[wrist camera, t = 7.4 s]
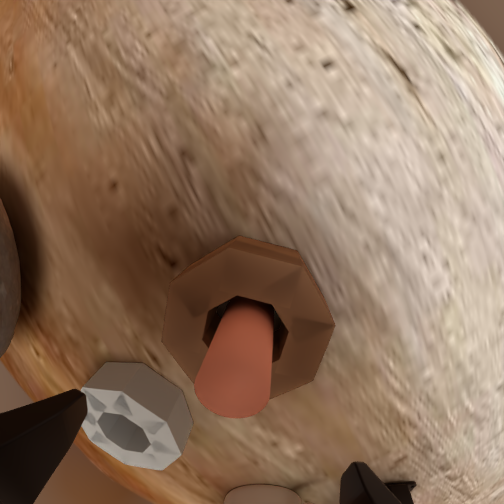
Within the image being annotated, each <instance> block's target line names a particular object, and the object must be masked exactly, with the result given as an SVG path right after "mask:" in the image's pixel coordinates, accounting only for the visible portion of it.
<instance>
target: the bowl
mask: <svg viewBox="0 0 504 504" xmlns="http://www.w3.org/2000/svg"><path fill="white" fill-rule="evenodd" d="M20 305H21V275H20V261H19V257H18V252H17V247H16V243H15V239H14V234H13V230H12V228H11V225H10V222H9V219H8V216H7V213H6V211H5V208H4V206H3V203H2V200H1V199H0V358H1V356H2V355H3V354H4V353H5V352H6V350H7V349H8V347H9V344H10V342H11V340H12V337H13V335H14V329H15V326H16V323H17V320H18V317H19V312H20Z"/></svg>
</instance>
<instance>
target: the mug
mask: <svg viewBox="0 0 504 504" xmlns="http://www.w3.org/2000/svg"><path fill="white" fill-rule="evenodd" d="M224 504H314V503H310V502H306V503H301V499H300V497H299V496H298V494H296V493H295V492H294V491H292V490H290V489H287V488H284V487H280V486H275V485H264V484H257V485H246V486H241V487H238V488H235V489H233V490H231V491H230V492H229V493H228V494H227V495H226V497H225V500H224Z"/></svg>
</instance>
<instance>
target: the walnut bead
mask: <svg viewBox="0 0 504 504" xmlns="http://www.w3.org/2000/svg"><path fill="white" fill-rule="evenodd" d="M237 295H238V296H242V297H246V298H249V299H253V300H257V301H261V302H265V303H269V304H272V305H273V307H274V309H275V310H276V312H277V313H278V315H279V317H280V318H281V320H282V322H281V326H280V329H278V330H276V331H274V332H273V350H272V369H271V387H270V398H269V399H272V398H274V397H277V396H279V395H281V394H284V393H286V392H289V391H291V390H293V389H295V388H298V387H300V386H302V385H304V384H307V383H309V382H311V381H313V379H314V377H315V375H316V372H317V370H318V368H319V365H320V363H321V360H322V358H323V356H324V353H325V351H326V348H327V346H328V343H329V341H330V338H331V335H332V333H333V330H334V328H335V323H334V321H333V318H332V316H331V313H330V311H329V308H328V306H327V303H326V301H325V299H324V297H323V295H322V293H321V291H320V290H319V288H318V286H317V284H316V282H315V281H314V279H313V277H312V275H311V274H310V272H309V270H308V268H307V267H306V265H305V263H304V261H303V260H302V258H301V256H300V254H299V253H298V251H297V250H293V249H289V248H285V247H282V246H278V245H274V244H270V243H266V242H262V241H258V240H254V239H251V238H247V237H243V236H238V237H236V238H234V239H233V240H231V241H229V242H227V243H226V244H224V245H222V246H221V247H219V248H217V249H216V250H214V251H212V252H211V253H209V254H208V255H206V256H204V257H203V258H201V259H199V260H198V261H196V262H194V263H193V264H191V265H190V266H189V267H187V268H186V269H185V270H184V271H183V272H182V273H181V274H179V275H178V276H177V277H176V278H175V279H174V280H173V281H171V282H170V287H169V293H168V300H167V306H166V313H165V320H164V327H163V335H162V343H163V344H164V345H165V347H166V348H167V350H168V351H169V352H170V354H171V355H172V356H173V358H174V359H175V360H176V362H177V363H178V364H179V365H180V367H181V368H182V369H183V371H184V372H185V373H186V374H187V376H188V377H189V378H190V379H191V381H192V382H193V383H194V384H195V379H196V376H197V374H198V372H199V369H200V367H201V365H202V362H203V360H204V358H205V356H206V353H207V351H208V349H209V347H210V344H211V342H212V340H213V337H214V335H215V333H216V331H217V328H218V326H219V324H220V322H221V319H220V317H219V316H218V314H217V313H216V310H217V306H218V305H220V304H222V303H224V302H226V301H227V300H229V299H231V298H233V297H235V296H237Z"/></svg>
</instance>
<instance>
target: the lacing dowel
mask: <svg viewBox="0 0 504 504" xmlns="http://www.w3.org/2000/svg"><path fill="white" fill-rule="evenodd" d="M273 329H274V307H273V305H272V304H269V303H265V302H261V301H257V300H253V299H249V298H246V297H242V296H238V295H237V296H235V297H233V298H231V299H230V301H229V303H228V306H227V308H226V310H225V312H224V315H223V317H222V319H221V322H220V324H219V326H218V328H217V331H216V333H215V335H214V337H213V340H212V342H211V344H210V347H209V349H208V351H207V353H206V356H205V358H204V360H203V362H202V365H201V367H200V369H199V372H198V374H197V376H196V379H195V384H194V387H195V393H196V395H197V397H198V399H199V400H200V402H201V403H202V404H203V405H204V406H205V407H206V408H207V409H209V410H210V411H212V412H214V413H216V414H218V415H221V416H224V417H228V418H245V417H249V416H252V415H255V414H256V413H258V412H260V411H261V410H262V409H263V408H264V407H265V406H266V405H267V403H268V401H269V398H270V387H271V369H272V350H273Z"/></svg>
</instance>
